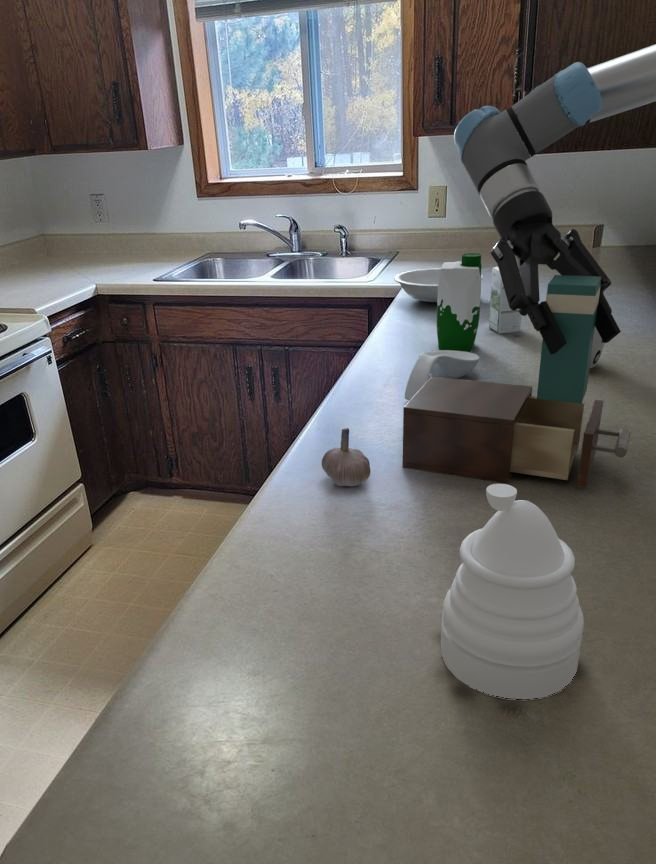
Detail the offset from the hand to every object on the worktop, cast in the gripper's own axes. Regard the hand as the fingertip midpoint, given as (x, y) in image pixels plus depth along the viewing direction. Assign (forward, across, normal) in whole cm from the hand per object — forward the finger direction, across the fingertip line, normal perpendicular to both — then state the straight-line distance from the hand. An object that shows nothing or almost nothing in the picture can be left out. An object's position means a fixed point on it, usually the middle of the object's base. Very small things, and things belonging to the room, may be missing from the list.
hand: (586, 342), depth 98 cm
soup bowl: (-57, -45, -84) cm, 111 cm away
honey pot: (+33, +34, +6) cm, 48 cm away
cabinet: (+5, +10, -22) cm, 24 cm away
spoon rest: (-16, -6, -43) cm, 46 cm away
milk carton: (-29, -23, -56) cm, 67 cm away
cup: (-12, -36, -39) cm, 55 cm away
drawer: (+11, +2, -14) cm, 18 cm away
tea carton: (+3, 0, -8) cm, 9 cm away
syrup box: (-33, -40, -60) cm, 79 cm away
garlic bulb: (+4, +30, -23) cm, 38 cm away
